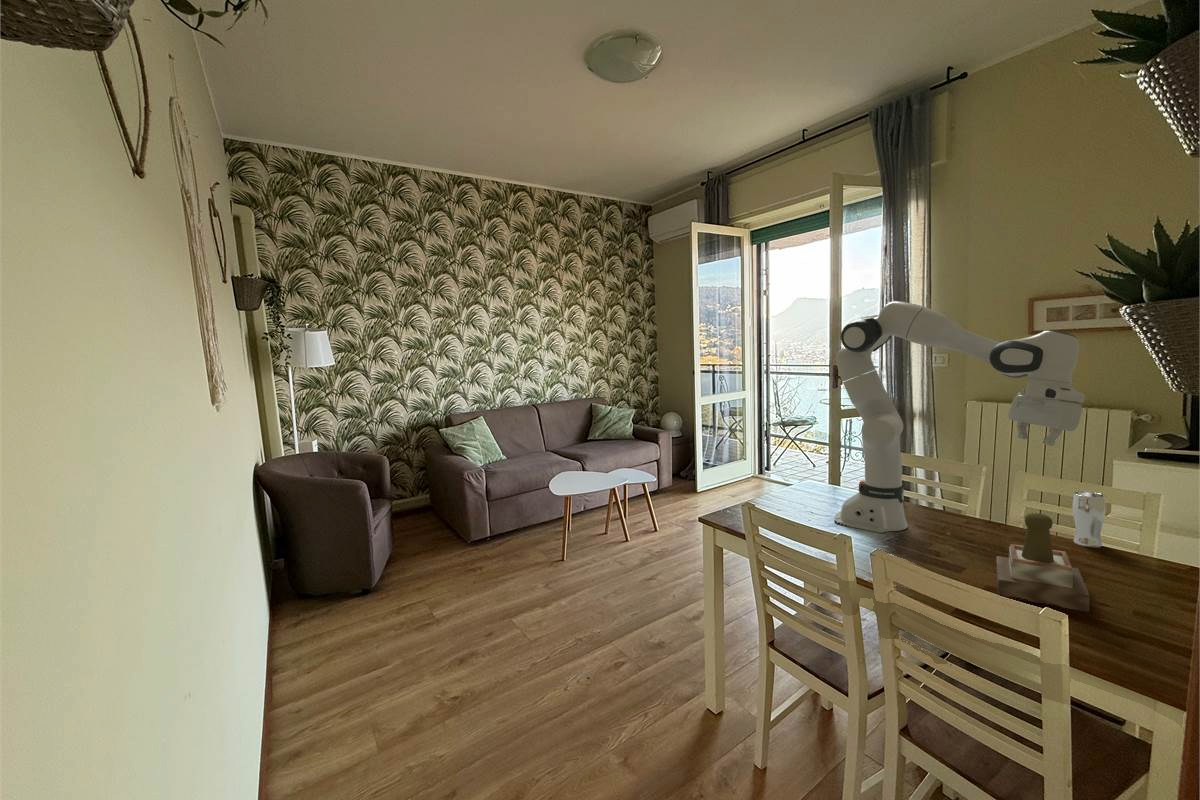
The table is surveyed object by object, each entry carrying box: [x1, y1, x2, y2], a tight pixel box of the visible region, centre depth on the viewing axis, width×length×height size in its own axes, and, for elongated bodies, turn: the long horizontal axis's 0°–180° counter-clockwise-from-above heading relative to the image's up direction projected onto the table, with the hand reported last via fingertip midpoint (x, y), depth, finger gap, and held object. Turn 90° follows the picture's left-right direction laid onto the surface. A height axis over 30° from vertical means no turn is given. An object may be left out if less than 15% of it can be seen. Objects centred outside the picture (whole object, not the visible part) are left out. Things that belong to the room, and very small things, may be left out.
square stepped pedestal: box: [995, 543, 1090, 613], centre depth 124 cm, size 16×16×9 cm
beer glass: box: [1071, 490, 1107, 549], centre depth 147 cm, size 7×7×15 cm
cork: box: [1022, 512, 1054, 563], centre depth 123 cm, size 6×6×11 cm
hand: (1034, 441), depth 136 cm, fingers open, 8 cm apart
